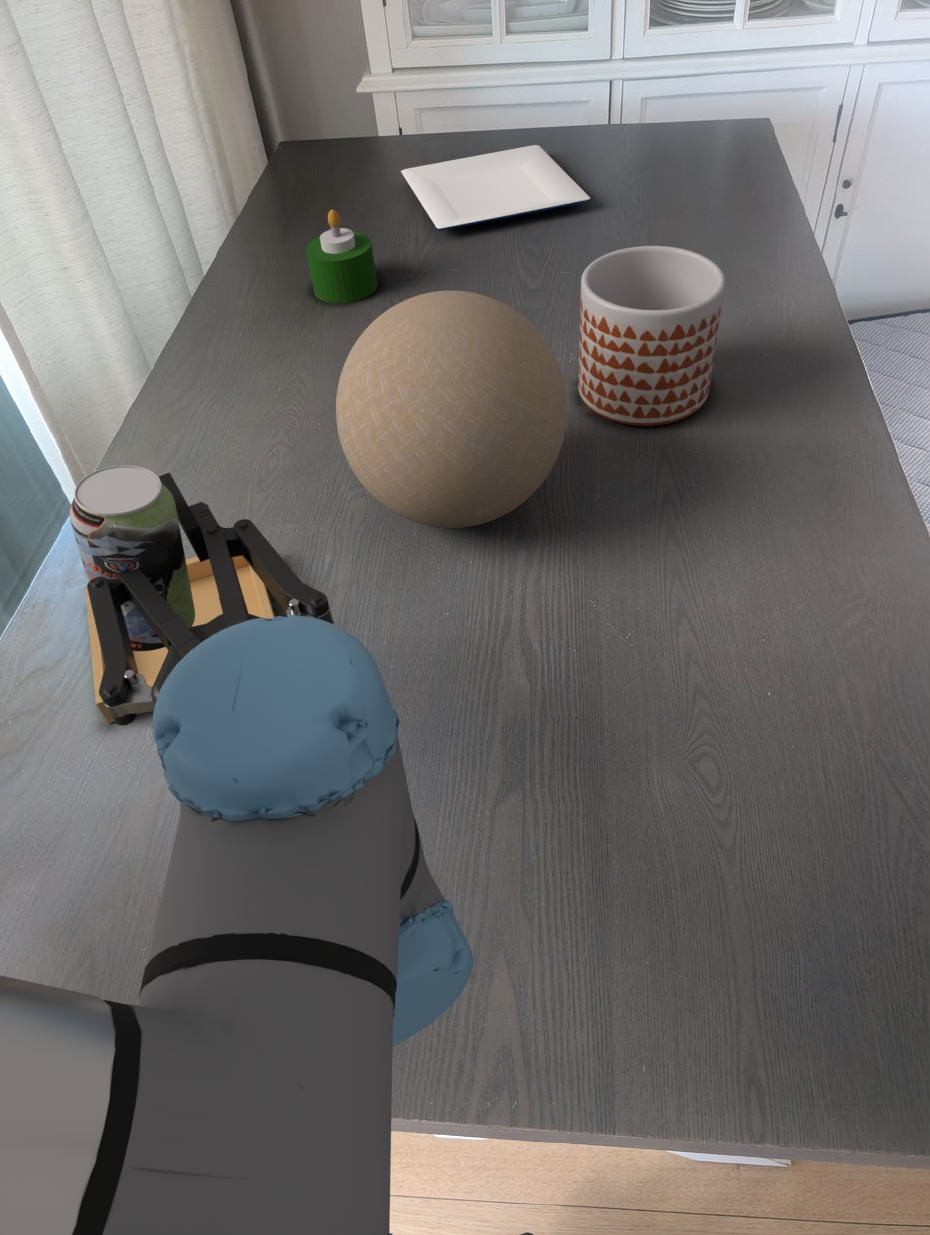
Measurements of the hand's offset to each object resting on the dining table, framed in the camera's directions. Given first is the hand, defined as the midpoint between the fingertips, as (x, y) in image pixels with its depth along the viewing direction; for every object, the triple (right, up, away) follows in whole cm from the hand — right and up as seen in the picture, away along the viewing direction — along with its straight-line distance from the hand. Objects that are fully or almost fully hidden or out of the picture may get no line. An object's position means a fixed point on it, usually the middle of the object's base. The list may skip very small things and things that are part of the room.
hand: (143, 500), depth 60 cm
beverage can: (+1, -9, +1) cm, 9 cm away
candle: (+6, +35, +57) cm, 67 cm away
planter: (+40, +16, +36) cm, 56 cm away
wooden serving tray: (-2, -9, +16) cm, 19 cm away
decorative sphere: (+21, +3, +26) cm, 33 cm away
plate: (+25, +54, +73) cm, 94 cm away
